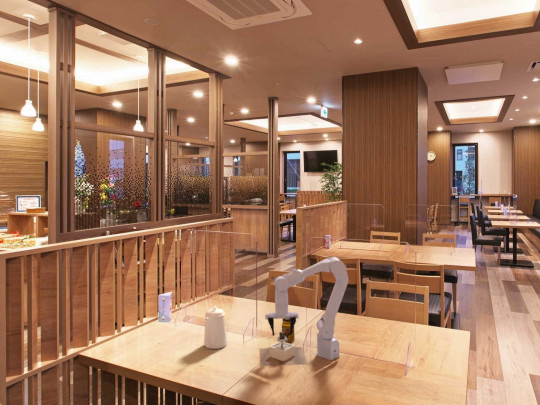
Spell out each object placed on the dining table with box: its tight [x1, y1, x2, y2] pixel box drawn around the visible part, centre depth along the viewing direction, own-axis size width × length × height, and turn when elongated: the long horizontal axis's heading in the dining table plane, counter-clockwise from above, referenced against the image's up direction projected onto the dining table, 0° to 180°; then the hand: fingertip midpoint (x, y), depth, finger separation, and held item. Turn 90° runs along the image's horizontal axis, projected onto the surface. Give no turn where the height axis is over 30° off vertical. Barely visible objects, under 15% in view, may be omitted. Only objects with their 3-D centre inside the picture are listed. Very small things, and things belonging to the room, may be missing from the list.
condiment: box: [281, 318, 296, 344], centre depth 201 cm, size 7×8×12 cm
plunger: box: [273, 331, 291, 350], centre depth 182 cm, size 6×6×7 cm
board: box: [259, 346, 308, 367], centre depth 183 cm, size 20×18×1 cm
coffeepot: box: [203, 305, 228, 350], centre depth 197 cm, size 11×25×19 cm, turn 168°
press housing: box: [268, 341, 296, 361], centre depth 182 cm, size 8×8×4 cm
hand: (282, 334), depth 182 cm, fingers open, 7 cm apart
